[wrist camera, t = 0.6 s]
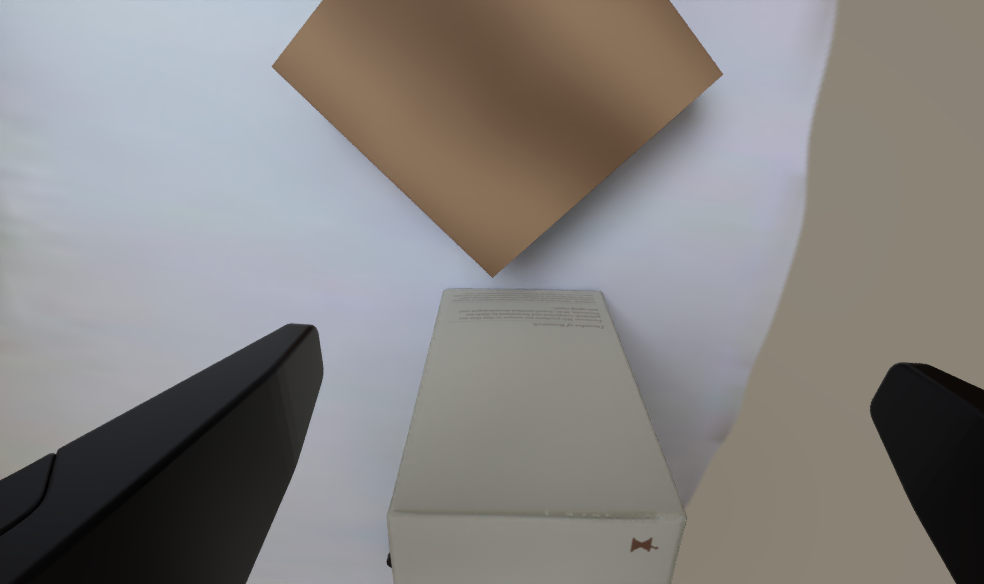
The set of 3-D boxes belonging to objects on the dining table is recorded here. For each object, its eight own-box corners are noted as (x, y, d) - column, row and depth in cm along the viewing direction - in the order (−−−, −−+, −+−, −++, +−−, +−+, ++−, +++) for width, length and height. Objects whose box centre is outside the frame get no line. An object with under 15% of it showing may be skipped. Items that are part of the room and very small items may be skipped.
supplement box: (440, 284, 23) (379, 509, 12) (605, 287, 23) (702, 518, 12) (444, 415, 26) (398, 693, 15) (589, 419, 26) (654, 701, 15)
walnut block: (494, 241, 23) (492, 277, 19) (314, 63, 20) (271, 66, 16) (683, 69, 20) (723, 74, 16) (501, -171, 17) (501, -232, 13)
